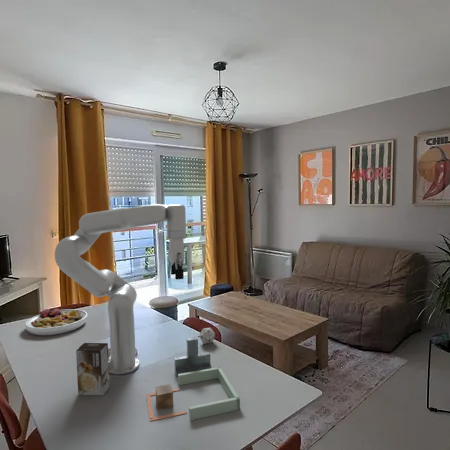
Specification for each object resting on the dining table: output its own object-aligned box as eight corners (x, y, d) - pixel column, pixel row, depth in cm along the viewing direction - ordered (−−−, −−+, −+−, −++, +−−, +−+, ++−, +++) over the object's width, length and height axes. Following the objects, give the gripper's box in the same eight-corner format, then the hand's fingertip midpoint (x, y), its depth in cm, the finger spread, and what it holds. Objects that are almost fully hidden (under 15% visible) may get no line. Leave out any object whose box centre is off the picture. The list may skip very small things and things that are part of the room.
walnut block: (157, 410, 101) (157, 395, 101) (155, 401, 106) (155, 386, 106) (173, 407, 103) (172, 392, 102) (170, 398, 108) (170, 384, 107)
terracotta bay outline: (149, 421, 96) (149, 420, 96) (146, 394, 109) (146, 394, 109) (186, 413, 99) (186, 412, 99) (178, 388, 113) (178, 388, 113)
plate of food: (99, 323, 179) (98, 309, 179) (46, 342, 154) (45, 326, 153) (67, 314, 195) (66, 301, 194) (14, 330, 169) (13, 316, 169)
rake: (211, 370, 125) (211, 338, 125) (176, 377, 121) (175, 343, 120) (209, 366, 129) (208, 335, 128) (174, 372, 125) (174, 339, 124)
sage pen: (190, 420, 96) (189, 409, 96) (178, 383, 116) (177, 374, 116) (240, 409, 101) (239, 398, 101) (220, 375, 121) (220, 366, 121)
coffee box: (110, 385, 115) (109, 342, 115) (102, 396, 109) (101, 350, 108) (85, 385, 116) (84, 342, 115) (76, 395, 109) (75, 350, 109)
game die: (210, 352, 149) (213, 341, 143) (194, 345, 150) (196, 333, 144) (217, 337, 156) (220, 326, 150) (201, 330, 157) (204, 318, 151)
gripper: (164, 233, 136) (165, 273, 137) (170, 237, 120) (171, 281, 120) (181, 233, 138) (182, 271, 139) (190, 236, 122) (190, 280, 123)
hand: (177, 276), depth 130 cm, fingers open, 9 cm apart
